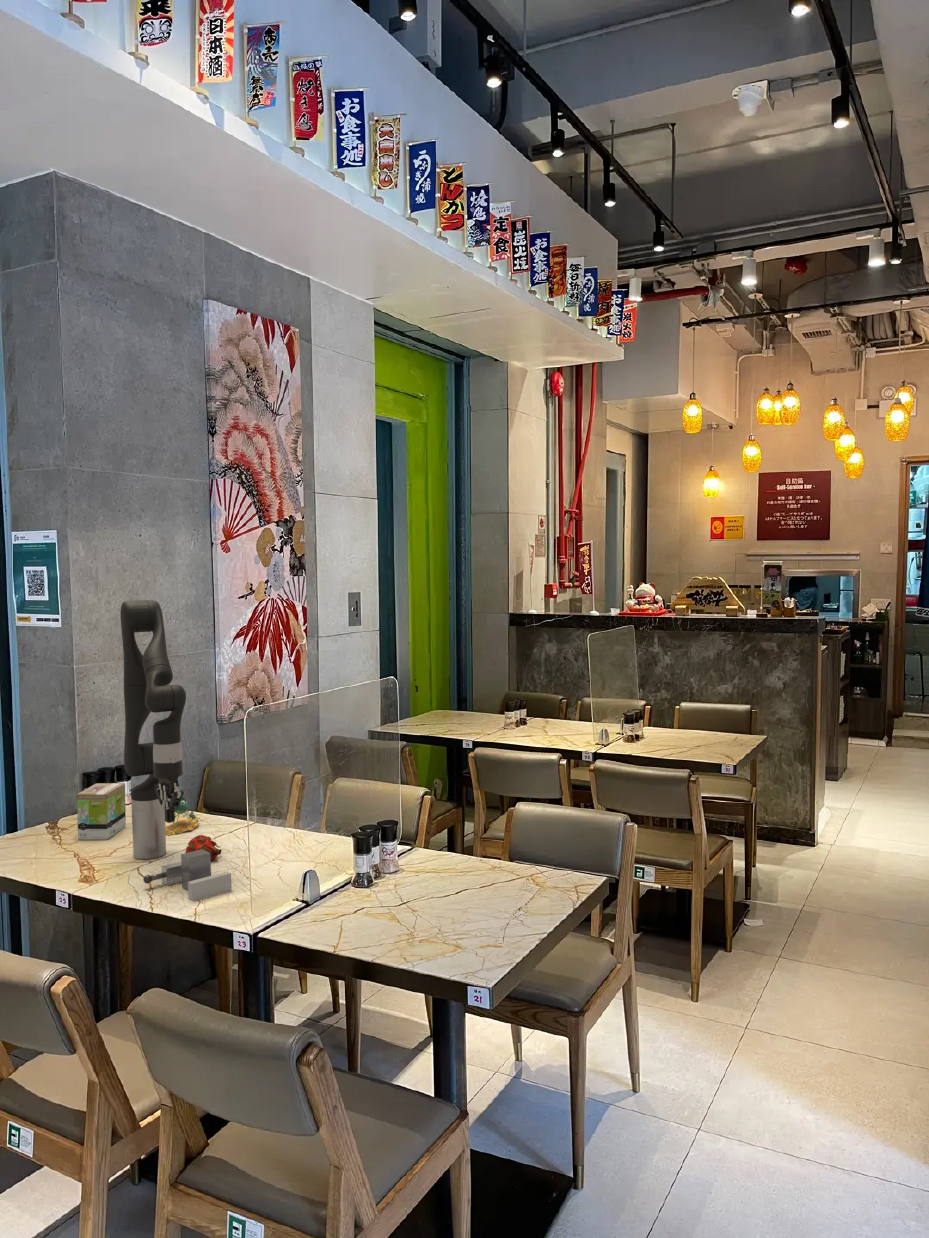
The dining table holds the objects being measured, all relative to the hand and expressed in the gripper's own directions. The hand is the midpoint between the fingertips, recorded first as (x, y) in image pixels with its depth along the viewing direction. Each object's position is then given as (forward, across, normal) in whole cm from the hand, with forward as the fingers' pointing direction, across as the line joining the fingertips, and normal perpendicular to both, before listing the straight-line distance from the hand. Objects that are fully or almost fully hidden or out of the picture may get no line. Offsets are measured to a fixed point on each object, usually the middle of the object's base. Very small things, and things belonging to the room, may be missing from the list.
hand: (170, 821), depth 255 cm
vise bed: (+16, +11, 0) cm, 20 cm away
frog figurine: (+16, -43, +25) cm, 52 cm away
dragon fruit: (+16, -7, +13) cm, 22 cm away
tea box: (+16, -57, +4) cm, 59 cm away
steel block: (+15, +14, 0) cm, 20 cm away
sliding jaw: (+15, +6, -3) cm, 16 cm away
